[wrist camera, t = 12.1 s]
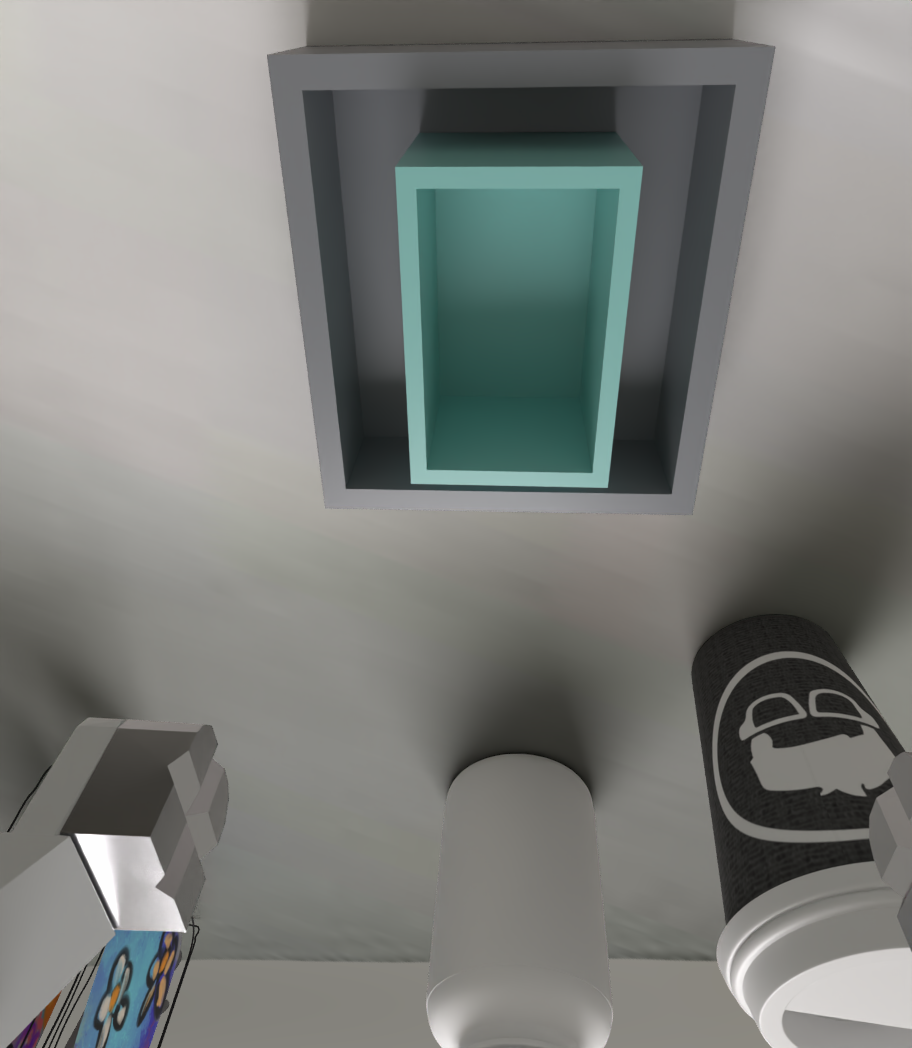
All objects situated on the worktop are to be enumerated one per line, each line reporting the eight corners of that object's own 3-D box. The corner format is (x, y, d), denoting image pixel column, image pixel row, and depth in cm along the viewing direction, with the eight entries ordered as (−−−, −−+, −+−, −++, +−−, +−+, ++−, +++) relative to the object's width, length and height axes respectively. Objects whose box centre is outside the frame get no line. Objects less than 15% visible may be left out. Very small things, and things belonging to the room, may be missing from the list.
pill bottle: (558, 730, 39) (578, 1068, 27) (614, 823, 43) (655, 1157, 31) (418, 770, 42) (378, 1098, 29) (483, 855, 46) (472, 1178, 33)
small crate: (616, 131, 24) (643, 166, 19) (591, 403, 29) (607, 487, 24) (419, 132, 24) (395, 166, 19) (428, 401, 29) (411, 483, 24)
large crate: (732, 39, 23) (775, 46, 19) (670, 451, 30) (692, 514, 27) (305, 46, 24) (266, 55, 20) (347, 447, 31) (325, 508, 27)
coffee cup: (615, 685, 38) (666, 1027, 25) (760, 550, 33) (912, 888, 20) (765, 764, 40) (880, 1112, 27) (921, 649, 35) (1145, 1006, 23)
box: (19, 619, 38) (-563, 1349, 17) (148, 631, 37) (-284, 1378, 17) (109, 911, 51) (-154, 1506, 31) (203, 920, 51) (1, 1523, 31)
